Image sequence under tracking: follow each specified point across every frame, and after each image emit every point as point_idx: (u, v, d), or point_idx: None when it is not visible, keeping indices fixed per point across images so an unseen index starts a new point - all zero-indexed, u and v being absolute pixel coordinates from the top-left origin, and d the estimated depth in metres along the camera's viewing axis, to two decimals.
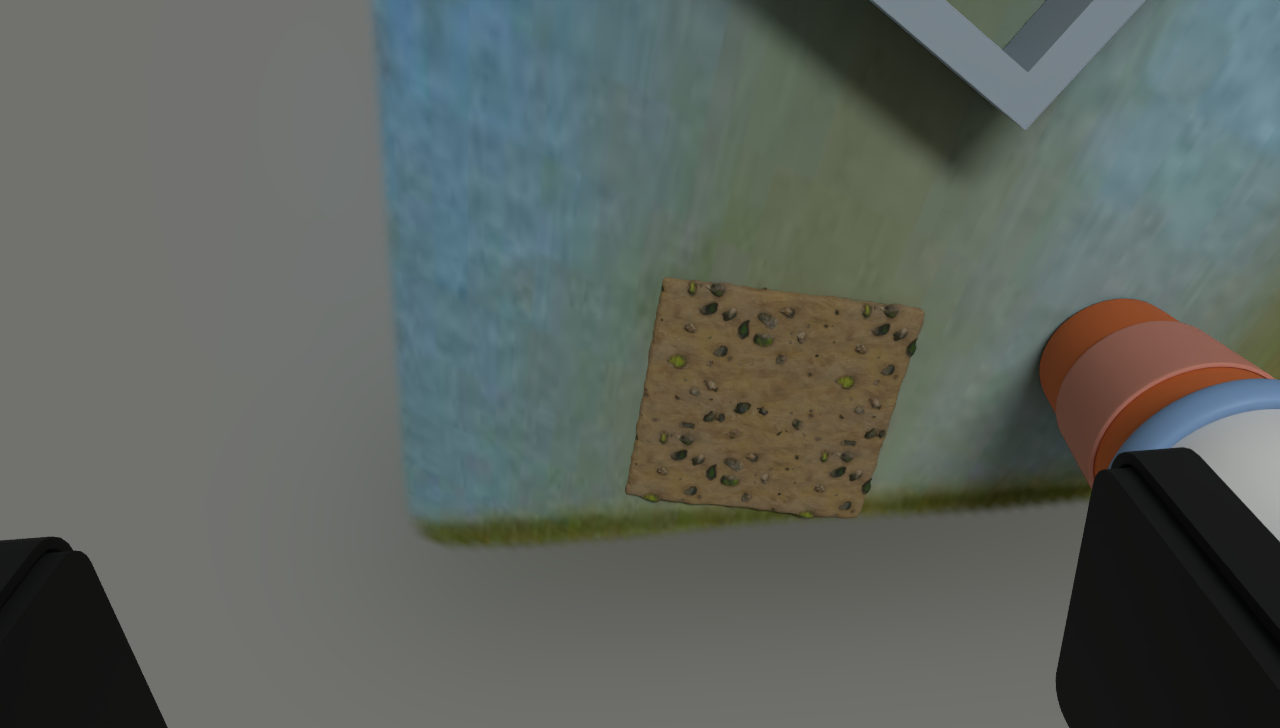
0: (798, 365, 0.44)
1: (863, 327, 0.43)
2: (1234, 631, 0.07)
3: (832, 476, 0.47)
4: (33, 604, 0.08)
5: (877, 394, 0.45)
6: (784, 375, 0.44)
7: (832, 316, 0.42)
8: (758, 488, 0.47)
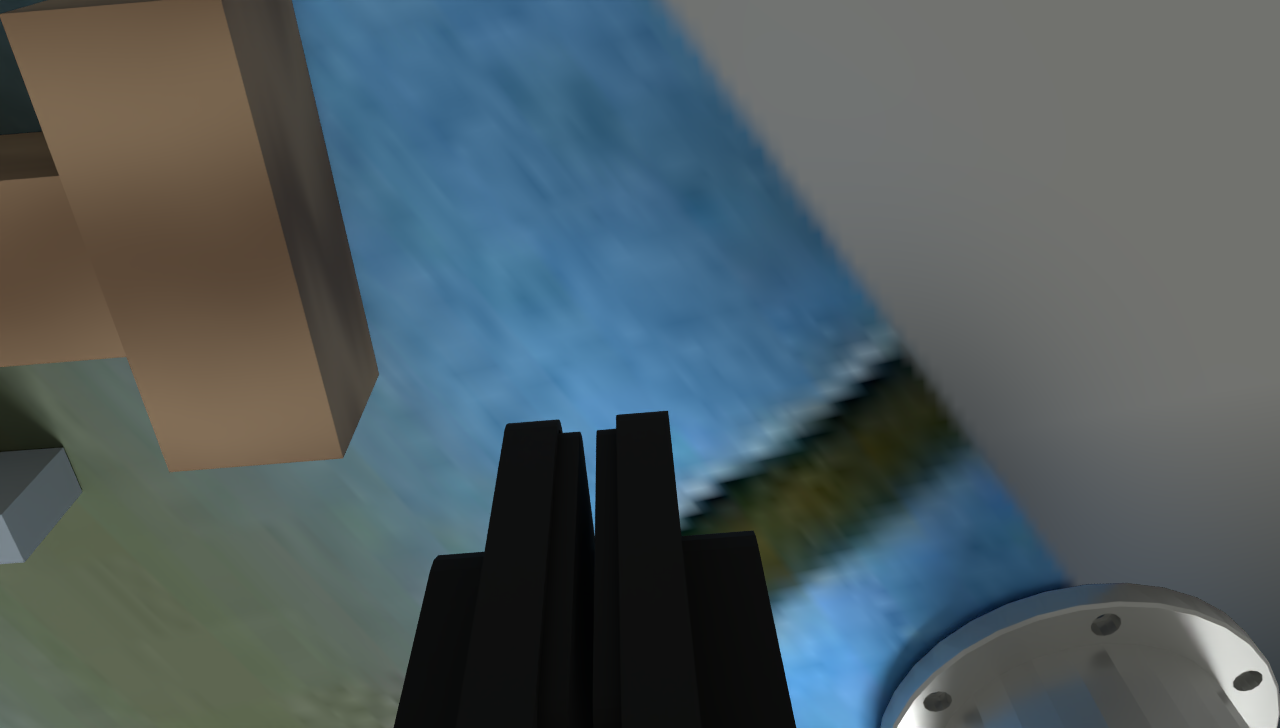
0: None
1: None
2: (600, 560, 0.08)
3: None
4: (575, 471, 0.09)
5: None
6: None
7: None
8: None
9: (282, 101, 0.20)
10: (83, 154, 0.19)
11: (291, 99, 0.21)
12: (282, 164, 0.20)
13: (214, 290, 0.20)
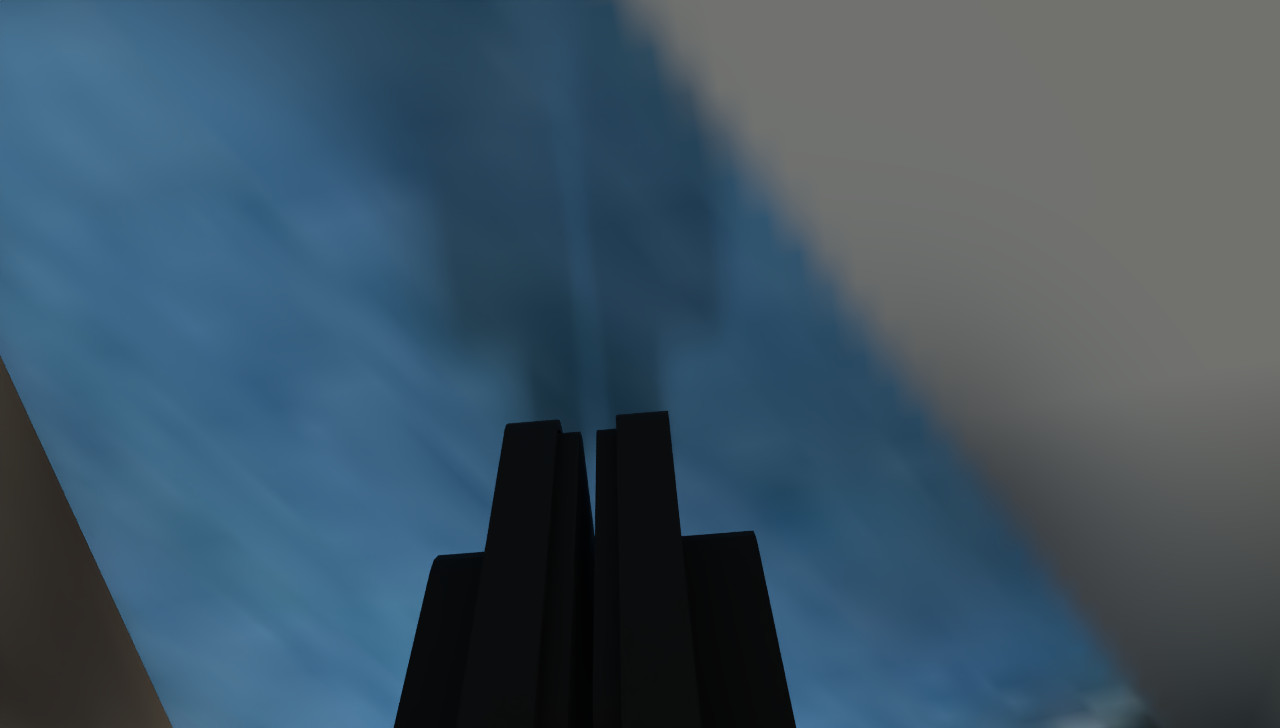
0: None
1: None
2: (600, 561, 0.08)
3: None
4: (576, 471, 0.09)
5: None
6: None
7: None
8: None
9: None
10: None
11: None
12: None
13: None
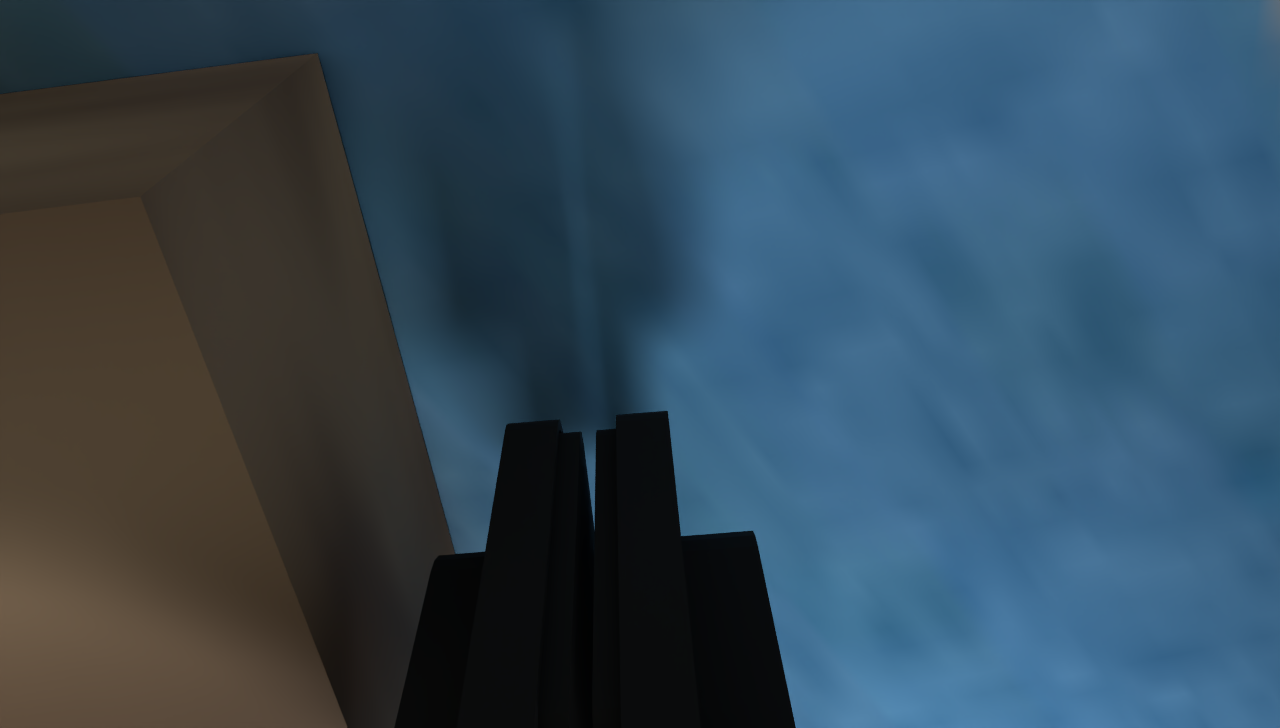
0: None
1: None
2: (600, 561, 0.08)
3: None
4: (576, 471, 0.09)
5: None
6: None
7: None
8: None
9: (328, 376, 0.08)
10: None
11: (345, 355, 0.09)
12: (333, 539, 0.08)
13: None
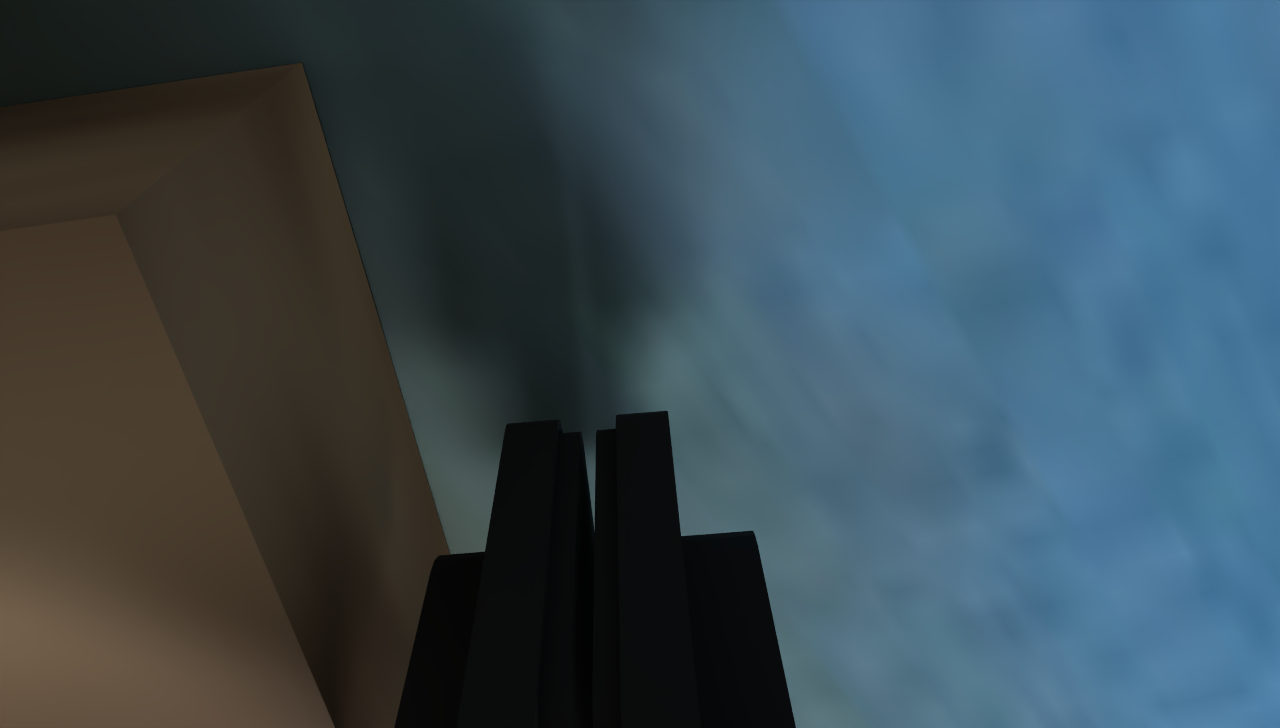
0: None
1: None
2: (600, 561, 0.08)
3: None
4: (576, 471, 0.09)
5: None
6: None
7: None
8: None
9: (316, 389, 0.08)
10: None
11: (334, 366, 0.09)
12: (324, 552, 0.08)
13: None
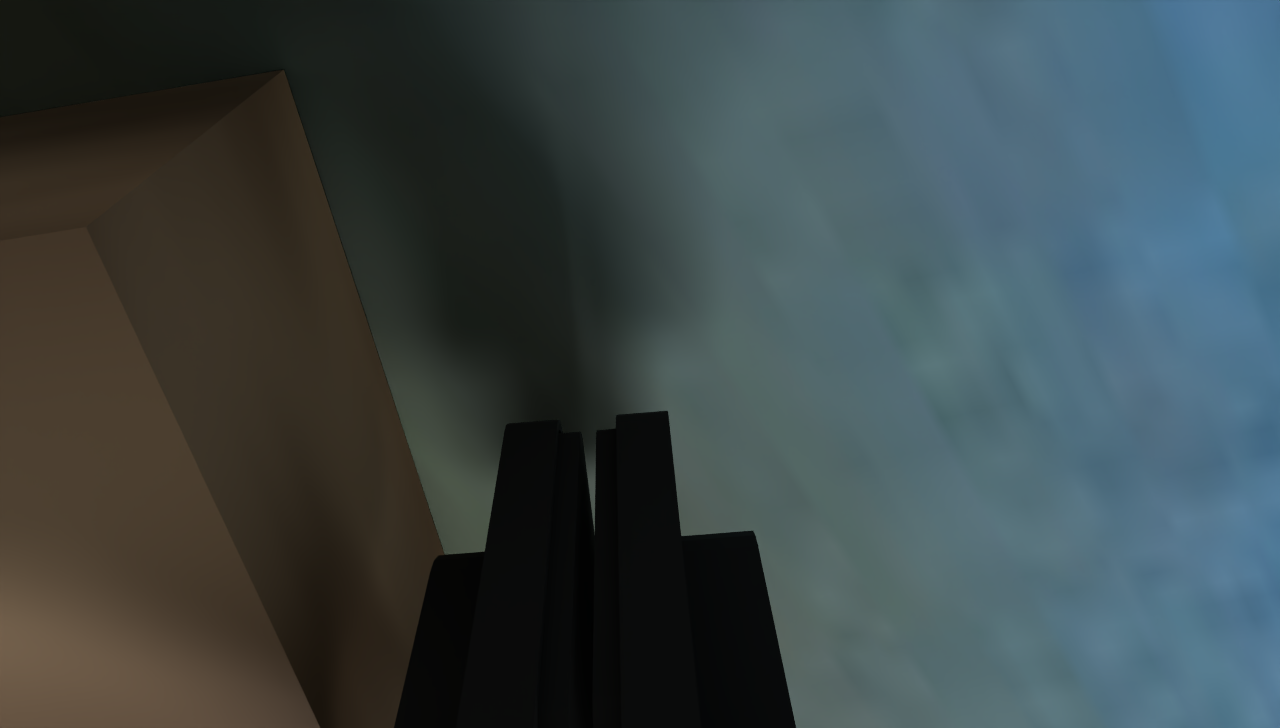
0: None
1: None
2: (601, 561, 0.08)
3: None
4: (576, 471, 0.09)
5: None
6: None
7: None
8: None
9: (301, 396, 0.08)
10: None
11: (321, 373, 0.09)
12: (312, 561, 0.08)
13: None
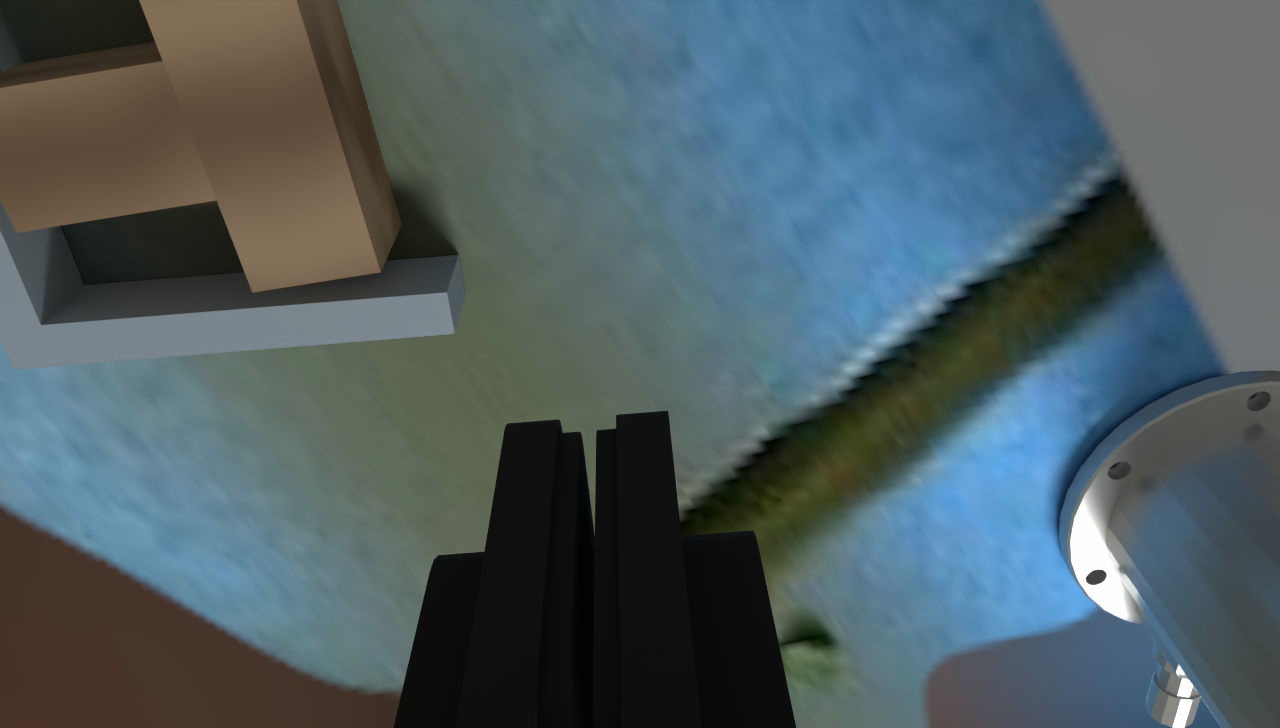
0: None
1: None
2: (601, 561, 0.08)
3: None
4: (576, 471, 0.09)
5: None
6: None
7: None
8: None
9: None
10: (179, 43, 0.26)
11: None
12: (320, 44, 0.27)
13: (277, 142, 0.27)
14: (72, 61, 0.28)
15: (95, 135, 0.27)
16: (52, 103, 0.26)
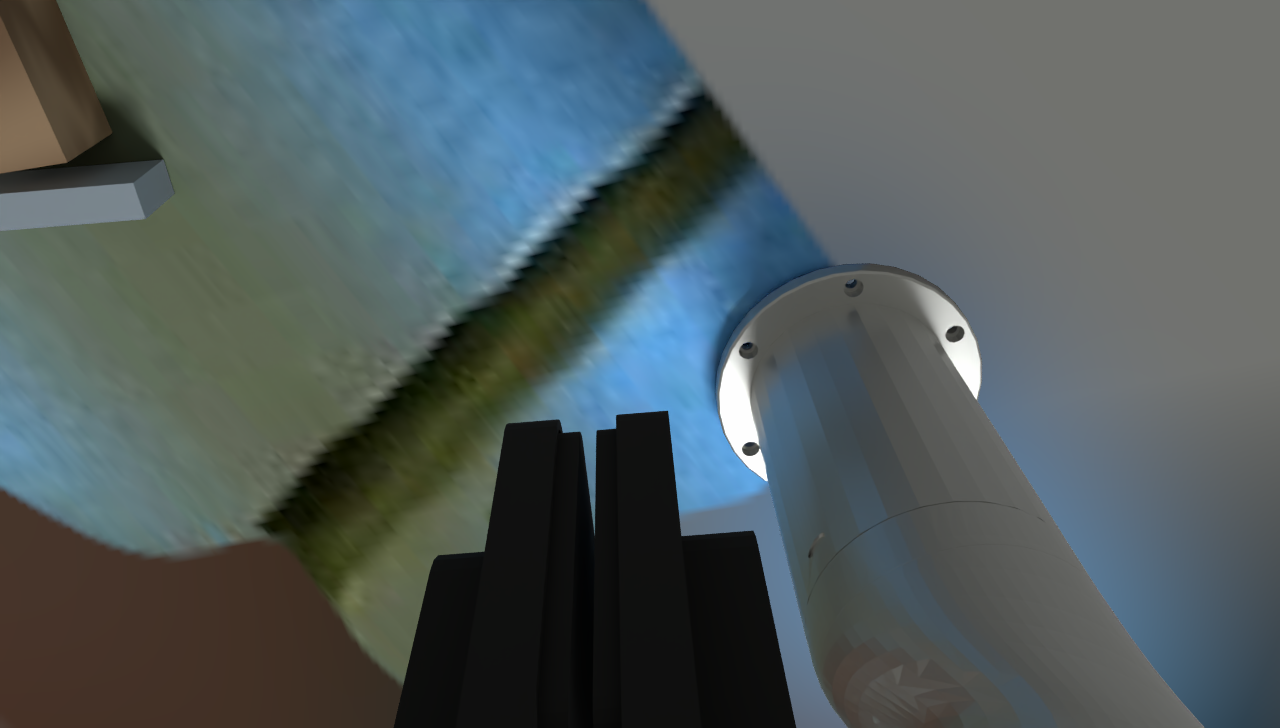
0: None
1: None
2: (600, 560, 0.08)
3: None
4: (575, 471, 0.09)
5: None
6: None
7: None
8: None
9: None
10: None
11: None
12: None
13: None
14: None
15: None
16: None
